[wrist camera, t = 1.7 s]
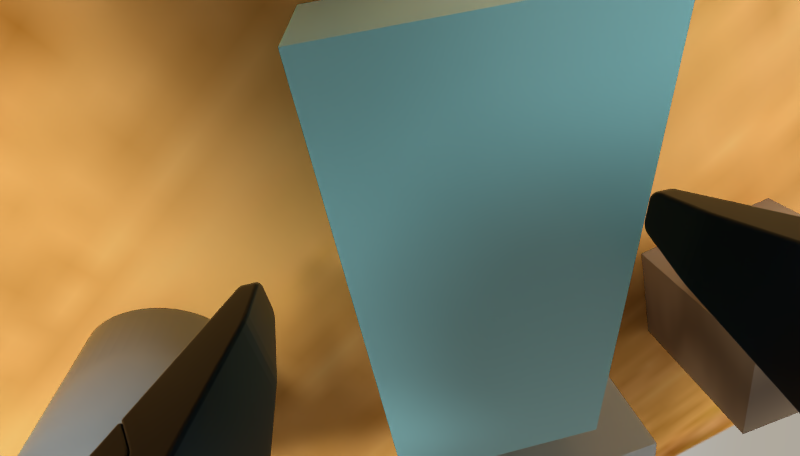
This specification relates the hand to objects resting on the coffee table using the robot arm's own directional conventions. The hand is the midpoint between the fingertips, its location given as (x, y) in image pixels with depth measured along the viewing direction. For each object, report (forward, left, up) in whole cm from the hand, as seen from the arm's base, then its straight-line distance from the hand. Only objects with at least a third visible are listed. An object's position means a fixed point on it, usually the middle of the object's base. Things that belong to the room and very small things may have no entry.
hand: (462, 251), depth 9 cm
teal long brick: (0, 0, -4) cm, 4 cm away
